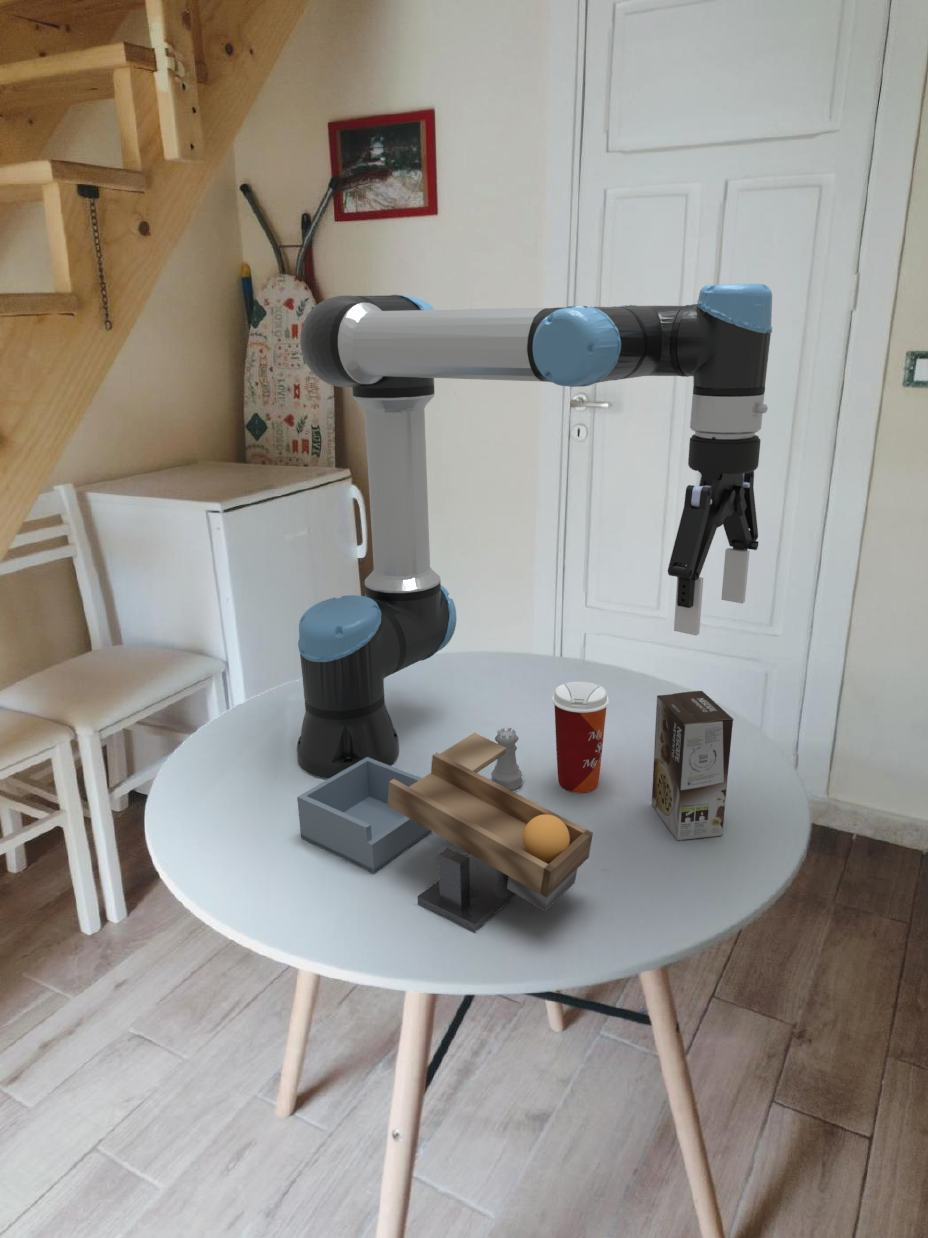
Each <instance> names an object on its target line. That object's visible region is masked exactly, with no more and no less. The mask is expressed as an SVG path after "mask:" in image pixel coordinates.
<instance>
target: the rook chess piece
mask: <svg viewBox="0 0 928 1238" xmlns="http://www.w3.org/2000/svg"><path fill="white" fill-rule="evenodd" d="M494 741H495V743H497V744H499V745H501V746H503V747H505V748H506V753H505V754H504V755H503V756H501V757H500V758H498V759H497V760H496V763H495V766H494V767H493V770H492V771H491V779H490V780H491V781H493V782H495V783H497V784H499V785H501V786H503V787H505V788H507V789H509V790H511V791H513V790H516V789H519V787H520V786H521V785H522V783H523V782H524V781H523V778H522V777H523V772H522V770H521V768H520V766H519V765H518V764H517V758H516V757H517V756H516V752H517V749H518V747H517V746H516V743H518V741H519V736H518V735H517V732H516V730H515V729H512V728H510V727H507V730H505V727H504V728H500V729H498V730H497V734H496V736H495V737H494Z"/></svg>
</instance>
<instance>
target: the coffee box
mask: <svg viewBox="0 0 928 1238" xmlns="http://www.w3.org/2000/svg"><path fill="white" fill-rule="evenodd" d="M655 707H656V709H655V710H656V711H655V730H654V746H653V747H654V749H653V770H652V793H651V806H652V807H653V809H654V810H655V811H656V812H657V814H658V816H659V817H660V818H661V820H662V821H663V823H664V824H665V826H666V827H667V828H668V829H669V831H670V832H671V834H672V835H673V837H674V838H675V839H676V840H677V841H683V840H692V839H694V840H695V839H702V838H711V837H720V836H721V837H722V835H723V832H724V821H725V819H724V818H725V811H726V810H725V809H726V800H727V788H728V779H729V778H728V777H729V768H730V767H729V766H730V756H731V746H732V735H733V734H732V733H733V725H734V718H733V717H732V716H731V715H730V714H729V713H727V712H726V711H725V710H724V709H723V708H722V707H720V706H719V704H717V703H716V702H715V701H714V700H713V699H712V698H711V697H710V696H708V695H707V693H705V692H704V691H703V690H694V691H693V690H692V691H685V692H684V691H683V692H677V693H671V694H660V695H656V706H655Z"/></svg>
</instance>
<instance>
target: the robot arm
mask: <svg viewBox="0 0 928 1238" xmlns="http://www.w3.org/2000/svg"><path fill="white" fill-rule="evenodd" d="M696 302H697V303H693V304H686V305H632V304H630V305H618V306H589V305H570V306H566V307H564V306H563V307H552V308H551V307H549V308H548V307H525V308H524V307H520V308H519V307H518V308H517V307H516V308H477V309H476V308H471V309H470V308H469V309H468V308H467V309H462V308H461V309H435V308H434V307H433V306H432V305H431V304H430V303H428V302H427V301H425V300H423V299H422V298H418V297H415V296H409V295H402V294H401V295H399V294H391V295H387V294H386V295H385V294H384V295H336V296H332V297H329V298H327V299H324V300H323V301H320V302H318V303H317V304H316V305H315V306H313V308H312V309H311V310H310V311H309V312H308V314H307V315H306V317H305V319H304V320H303V323H302V327H301V330H300V335H299V344H300V351H301V355H302V357H303V360H304V362H305V364H306V366H307V367H308V368H309V370H310V371H311V372H312V374H314V375H315V377H317V378H318V379H319V380H321V381H322V382H324V383H326V384H328V385H331V386H335V387H336V388H337V387H338V388H352V398H353V400H354V401H356V402H357V403H358V404H359V405H360V406H361V407H362V409H363V410H364V423H365V425H364V426H365V444H366V460H367V475H368V493H369V494H368V495H369V510H370V527H371V543H372V544H371V545H372V560H373V561H372V563H373V564H372V565H373V570H372V571H371V572H370V573H369V575H368V576H367V577H366V578H365V580H364V593H365V595H356V594H355V595H351V594H350V595H342V596H340V597H331V598H328V599H326V600H321V601H319V602H318V603H315V604H313V605H312V606H310V607H309V608H308V609H307V610H306V611H305V612H304V613H303V614H302V615H301V617H300V620H299V624H298V643H297V645H298V651H299V656H300V658H299V659H300V664H301V665H300V666H301V674H302V687H303V688H302V689H303V697H304V709H305V710H304V711H305V712H304V716H303V719H302V725H301V729H300V730H301V731H300V736H299V738H298V740H297V744H296V754H297V755H296V757H297V764H298V765H299V767H300V768H301V769H302V770H303V771H305V773H307V774H310V775H312V776H314V777H318V778H322V779H326V780H327V779H329V778H331V777H333V776H334V775H336V774H338V773H340V772H341V771H343V770H345V769H347V768H349V767H350V766H352V765H354V764H356V763H357V762H359V761H361V760H363V759H364V758H366V757H369V758H371V759H374V760H377V761H379V762H382V763H384V764H387V765H390V766H392V765H393V764H394V763H395V762H396V760H397V759H398V757H399V756H400V743H399V742H400V741H399V736H398V733H397V731H396V729H395V728H394V724H393V721H392V718H391V716H390V714H389V711H388V708H387V706H386V701H385V682H384V679H386V678H387V677H389V676H391V675H394V674H395V673H397V672H400V671H401V670H404V669H406V668H408V667H410V666H411V665H414V664H417V663H418V662H423V661H426V660H427V659H430V658H431V657H433V656H434V655H435V654H436V653H438V652H439V651H442V649H444V648H445V647H447V645H448V644H449V643H450V641H451V640H452V638H453V635H454V634H455V631H456V627H457V609H456V605H455V602H454V600H453V598H450V596H449V595H450V592H449V591H448V590H447V589H446V588H445V587H444V586H443V585H442V584H441V583H442V581H441V576H440V575H439V573H437V572H436V571H434V570H433V569H432V568H431V556H430V555H431V553H430V552H431V551H430V531H429V528H430V524H429V504H428V503H429V500H428V499H429V498H428V496H429V495H428V473H427V471H428V470H427V468H428V467H427V446H426V417H425V408H426V406H427V405H428V404H429V402H431V401H432V399H434V397H435V379H454V380H455V379H456V380H457V379H458V380H459V379H460V380H484V381H485V380H486V381H488V380H489V381H515V382H516V381H517V382H519V381H520V382H540V383H541V382H544V383H545V382H546V383H552V384H554V385H557V386H561V387H570V388H573V387H575V388H579V387H580V388H581V387H589V386H592V385H594V384H597V383H604V382H609V381H618V380H626V379H633V378H640V377H683V378H684V377H687V378H689V377H693V385H692V386H693V388H692V398H691V411H690V423H689V428H690V429H691V431H693V432H694V433H693V434H692V435H691V437H689V446H688V447H689V448H688V461H687V465H688V467H689V468H690V469H691V470H693V471H695V472H699V474H700V481H699V485H691V484H688V485H687V486H686V489H685V493H684V494H685V495H684V501H683V502H684V504H683V509H682V513H681V517H680V520H679V524H678V529H677V531H676V532H677V533H676V536H675V541H674V545H673V549H672V552H671V555H670V559H669V564H668V568H667V574H668V576H670V577H676V592H675V593H676V594H675V607H674V620H673V621H674V624H673V631H674V632H678V633H681V634H682V633H683V634H686V635H691V636H698V635H699V634H700V629H701V613H702V602H703V591H704V589H703V587H704V577H700V575H701V574H702V570H703V568H704V565H705V562H706V559H707V556H708V554H709V551H710V548H711V545H712V543H713V540H714V537H715V534H716V531H717V530H718V528H719V527H722V526H723V529H724V532H725V536H726V538H727V542H728V545H729V547H727V548H725V550H724V551H725V552H724V553H725V554H724V564H723V573H722V574H723V576H722V577H723V578H722V585H721V586H722V589H721V601H727V602H732V603H737V604H742V605H743V604H744V603H745V602H746V595H747V594H746V593H747V584H748V582H747V581H748V571H749V560H750V550H753V551H757V550H758V548H759V541H758V537H759V530H758V520H757V519H758V518H757V510H756V509H757V508H756V501H755V489H754V485H755V484H754V482H755V471H756V470H757V469H758V467H759V463H760V462H759V461H760V450H761V439H760V437H759V436H758V435H756V433H758V432H759V431H760V430H761V429H762V425H763V424H762V422H763V414H766V413H767V412H768V409H769V408H768V404H766V403H764V401H765V393H766V392H765V391H766V381H767V372H768V361H769V353H770V344H771V335H772V333H773V327H772V312H773V292H772V289H770V287H769V286H768V285H766V284H763V283H756V282H755V283H754V282H753V283H723V284H708V285H704V286H703V287H701V289H700V290H699V295H698V299H697V300H696ZM731 547H732V548H731Z"/></svg>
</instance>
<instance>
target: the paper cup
mask: <svg viewBox="0 0 928 1238" xmlns="http://www.w3.org/2000/svg"><path fill="white" fill-rule="evenodd" d="M554 691H555V692H554V694H553V695H552V698H551V702H552V704H553V705H554V724H555V746H556V748H555V749H556V765H557V767H556V768H557V780H558V781H557V782H558V785H559V787H561V789H563V790H565V791H567V792H569V793H577V794H586V793H589V792H592V791H594V790H595V789H597V788H598V786H599V780H600V774H601V772H600V771H601V766H602V765H601V764H602V757H603V756H602V754H603V744H604V735H605V725H606V724H605V723H606V717H607V707H608V706H609V704H610V698H609V697H608V695H607V694H608V693H607V691H606V689H605V688H604V687H603V686H601V685H599V684H596V683H593V682H589V681H588V682H587V681H571V682H570V681H569V682H566V683H562V684H560V685H558V686H557V687H556V689H555V690H554Z"/></svg>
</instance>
